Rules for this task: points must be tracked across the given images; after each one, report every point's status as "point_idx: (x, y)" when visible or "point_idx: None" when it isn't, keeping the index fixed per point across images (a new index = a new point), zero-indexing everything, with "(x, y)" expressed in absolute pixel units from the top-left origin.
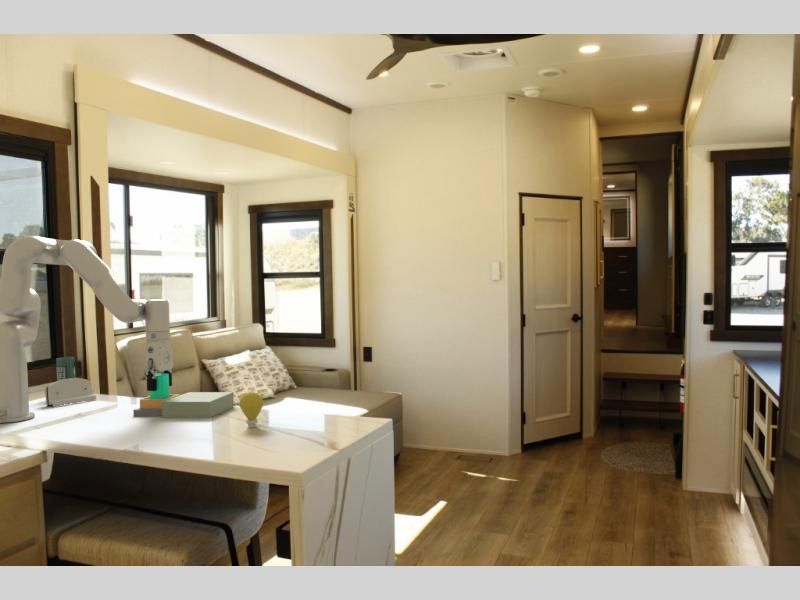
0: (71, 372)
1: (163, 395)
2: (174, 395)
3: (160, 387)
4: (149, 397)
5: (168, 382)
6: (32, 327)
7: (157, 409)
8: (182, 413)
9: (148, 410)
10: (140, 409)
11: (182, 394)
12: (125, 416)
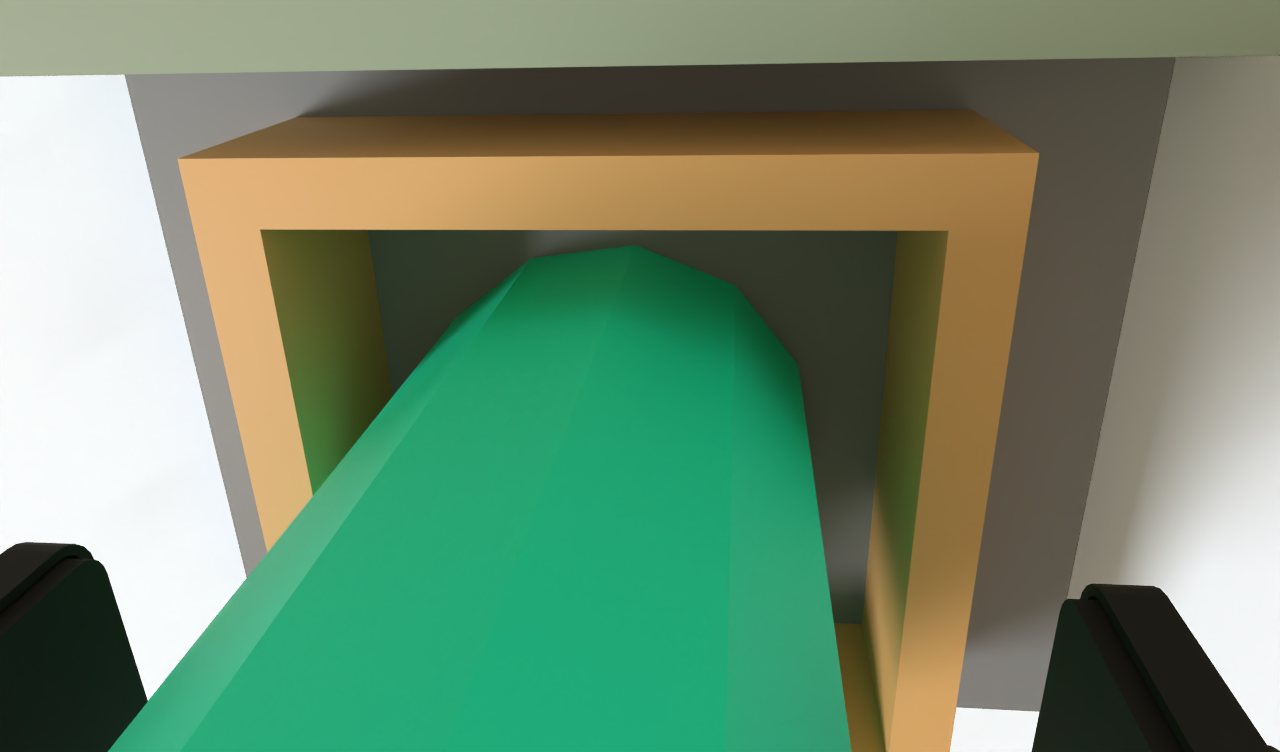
0: None
1: (735, 404)
2: (281, 287)
3: (797, 617)
4: None
5: (373, 567)
6: None
7: (1064, 276)
8: None
9: (1096, 438)
10: (1013, 615)
11: (166, 68)
12: (1011, 735)
